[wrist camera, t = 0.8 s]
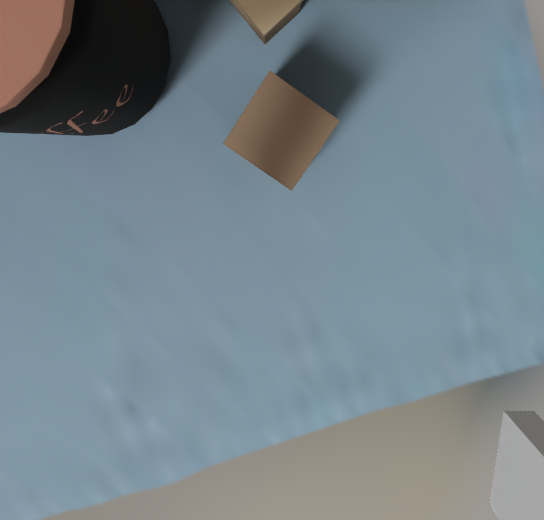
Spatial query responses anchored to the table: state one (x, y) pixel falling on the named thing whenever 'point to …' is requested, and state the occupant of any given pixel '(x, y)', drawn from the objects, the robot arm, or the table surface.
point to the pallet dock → (267, 15)
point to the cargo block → (281, 131)
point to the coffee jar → (80, 65)
